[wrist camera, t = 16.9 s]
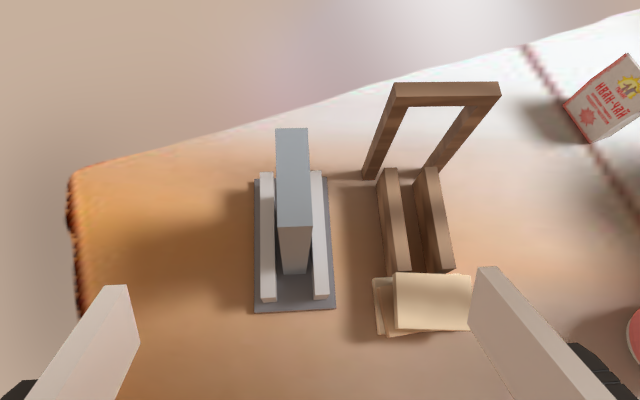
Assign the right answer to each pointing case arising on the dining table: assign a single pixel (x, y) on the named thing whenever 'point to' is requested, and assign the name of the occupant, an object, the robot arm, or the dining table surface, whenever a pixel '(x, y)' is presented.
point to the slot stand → (268, 271)
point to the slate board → (293, 198)
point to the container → (634, 335)
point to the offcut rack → (422, 214)
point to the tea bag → (607, 100)
